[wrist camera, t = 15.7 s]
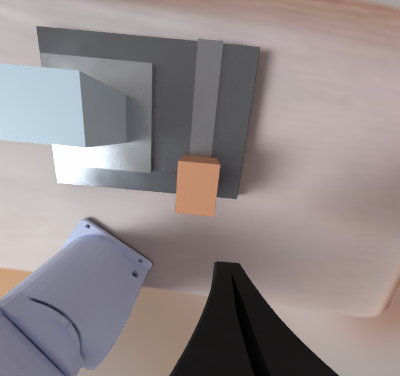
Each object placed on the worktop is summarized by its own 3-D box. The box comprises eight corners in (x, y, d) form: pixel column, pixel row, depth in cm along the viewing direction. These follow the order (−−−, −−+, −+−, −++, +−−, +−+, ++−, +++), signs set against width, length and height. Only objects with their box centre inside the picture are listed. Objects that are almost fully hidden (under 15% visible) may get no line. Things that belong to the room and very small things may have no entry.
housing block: (125, 94, 16) (79, 70, 10) (126, 142, 17) (85, 147, 11) (66, 88, 16) (-16, 61, 10) (71, 137, 17) (0, 139, 11)
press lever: (216, 157, 17) (220, 164, 13) (211, 198, 18) (214, 216, 14) (184, 154, 17) (177, 160, 13) (181, 195, 18) (175, 212, 14)
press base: (256, 53, 16) (262, 43, 14) (234, 195, 20) (237, 201, 18) (48, 33, 16) (29, 21, 14) (66, 179, 20) (52, 184, 18)
